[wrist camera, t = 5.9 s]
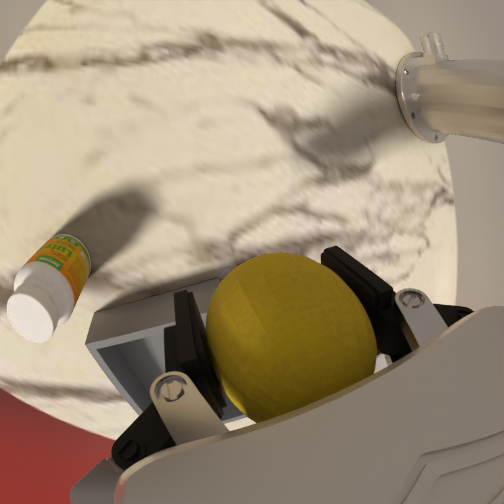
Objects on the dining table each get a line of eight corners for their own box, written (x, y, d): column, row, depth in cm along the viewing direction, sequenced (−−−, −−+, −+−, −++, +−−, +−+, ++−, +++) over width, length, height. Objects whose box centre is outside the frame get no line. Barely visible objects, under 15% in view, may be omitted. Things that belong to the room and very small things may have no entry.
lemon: (231, 203, 11) (338, 327, 4) (327, 254, 13) (445, 356, 6) (175, 310, 12) (199, 475, 5) (271, 338, 15) (337, 462, 7)
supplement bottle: (87, 230, 21) (49, 281, 12) (96, 284, 23) (73, 351, 14) (39, 234, 19) (-11, 283, 11) (50, 286, 21) (15, 348, 13)
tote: (94, 312, 24) (84, 344, 20) (218, 277, 27) (230, 305, 22) (157, 409, 32) (160, 437, 27) (249, 384, 34) (261, 412, 30)
